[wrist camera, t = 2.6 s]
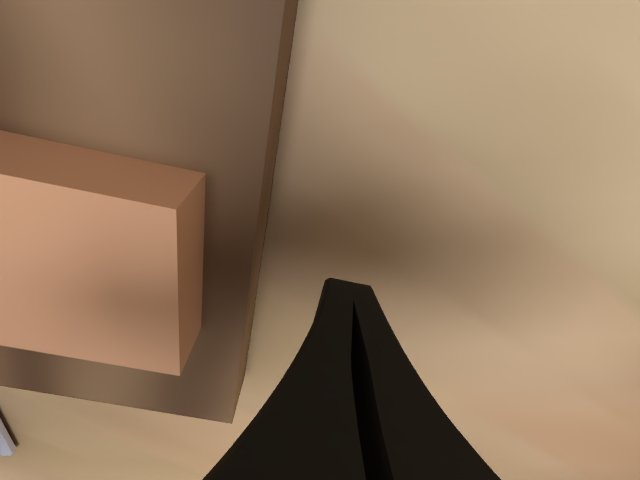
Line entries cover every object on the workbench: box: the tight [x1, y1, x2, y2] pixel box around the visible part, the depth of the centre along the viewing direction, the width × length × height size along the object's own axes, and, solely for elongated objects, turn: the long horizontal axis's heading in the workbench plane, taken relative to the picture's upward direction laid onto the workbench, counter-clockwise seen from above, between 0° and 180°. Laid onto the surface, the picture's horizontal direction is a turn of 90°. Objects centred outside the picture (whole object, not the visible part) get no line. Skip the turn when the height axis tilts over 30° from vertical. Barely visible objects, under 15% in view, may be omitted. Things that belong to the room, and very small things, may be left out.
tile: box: [0, 130, 206, 376], centre depth 10 cm, size 7×6×2 cm
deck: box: [0, 0, 298, 424], centre depth 11 cm, size 16×20×2 cm
